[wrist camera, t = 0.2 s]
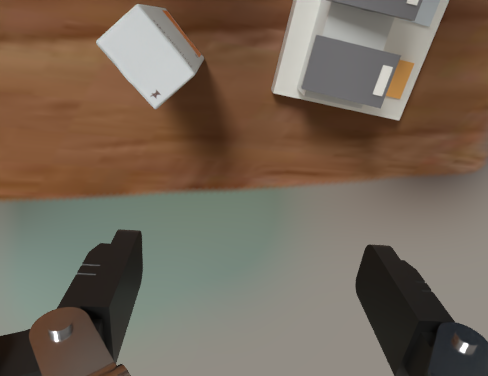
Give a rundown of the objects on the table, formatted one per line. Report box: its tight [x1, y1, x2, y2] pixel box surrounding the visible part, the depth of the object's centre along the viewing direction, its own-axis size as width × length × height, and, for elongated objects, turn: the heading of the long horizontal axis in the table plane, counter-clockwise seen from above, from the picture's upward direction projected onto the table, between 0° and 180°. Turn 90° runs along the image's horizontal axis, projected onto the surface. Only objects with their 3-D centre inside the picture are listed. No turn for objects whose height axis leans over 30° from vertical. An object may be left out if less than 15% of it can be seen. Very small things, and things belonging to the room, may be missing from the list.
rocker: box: [301, 35, 401, 109], centre depth 31 cm, size 4×7×2 cm, turn 78°
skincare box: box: [96, 4, 204, 109], centre depth 30 cm, size 6×4×12 cm
